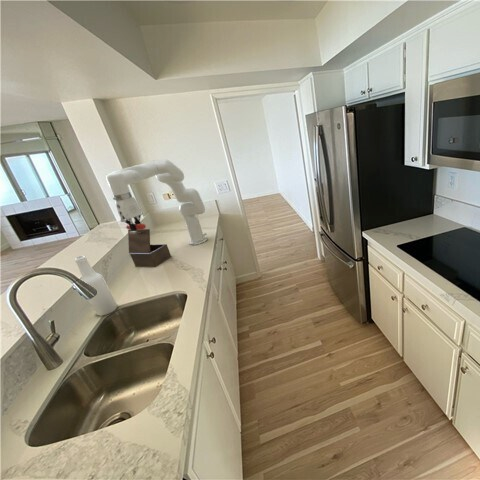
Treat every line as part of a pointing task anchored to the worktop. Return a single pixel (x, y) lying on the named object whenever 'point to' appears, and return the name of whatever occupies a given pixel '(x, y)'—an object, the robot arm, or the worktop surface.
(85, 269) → the alcohol
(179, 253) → the worktop surface
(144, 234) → the bin lid
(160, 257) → the bin
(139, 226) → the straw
